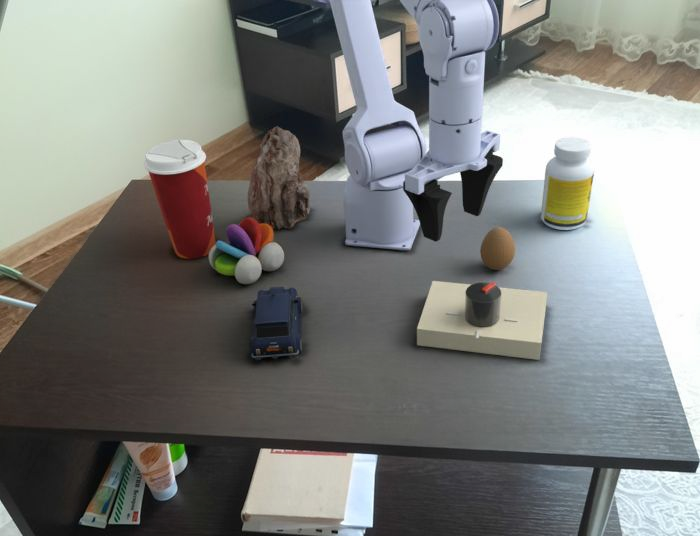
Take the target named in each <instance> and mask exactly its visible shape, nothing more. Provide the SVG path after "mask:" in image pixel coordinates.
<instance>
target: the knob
mask: <svg viewBox="0 0 700 536" xmlns="http://www.w3.org/2000/svg"><path fill="white" fill-rule="evenodd" d="M500 305H501V290H500V289H499V288H498V286H497V283H496V282H494V281H491V282H476V283H475V282H474V283H472V284H470V286H469V287H468V288H467V289H466V294H465V320H466V321H467V322H468V323H469V324H471V325H473V326H476V327H489V326H492V325H494V324H496V323H497V322H498V321H499V317H500Z"/></svg>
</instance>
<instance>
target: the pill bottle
mask: <svg viewBox="0 0 700 536" xmlns="http://www.w3.org/2000/svg"><path fill="white" fill-rule="evenodd" d="M591 150H592V144H591V142H590V141H588V140H587V139H584V138H581V137H576V136H574V137H573V136H567V137H563V138H560V139H557V141H556V142H555V144H554V150H553V154H554V157H552V158H551V159H549V160H548V162H547V163H546V165H545V171H544V182H543V191H542V200H541V209H540V219H541V222H543V224H544V225H546V226H547V227H549V228H551V229H555V230H559V231H560V230H561V231H570V230H571V231H572V230H576V229H579V228H581V227H582V226H584V225H585V223H586V222H587V220H588V215H589V207H590V201H591V194H592V188H593V181H594V176H595V165H594V163H593V162H592V161H591V159H590V158H589V157H590V154H591Z"/></svg>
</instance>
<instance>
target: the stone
mask: <svg viewBox="0 0 700 536" xmlns="http://www.w3.org/2000/svg"><path fill="white" fill-rule="evenodd" d="M259 148H260V155H259V156H258V157H257V159H256V160H255V161H254V163H253V165H252V168H251V173H250V177H249V185H248V188H247V207H248V211H249V212H248V217H250V218H254V219H255V220H256V221H257V222H258V223H259V224H262V223H264V224H268V225H270V226H271V227H272V229H273V230H275V229H277V230H281V229H293V227H294V226H295V224H296V223H297V222H300V221H304V220H306V218H307V217H309V214H310V211H311V206H310V195H311V193H310V189H309V187H308V184H306V183H305V182H304V180H303V179H302V177H301V174H300V170H299V168H300V157H301V145H300V143H299V139H298V138H297V137H296V135H295V134H294V133H291V131H290V130H287V129H283V128H281V127H279V126H278V125H277V126H274V128H271V129H269V130H268V131H267V133H265V135H264V137H263V138H262V141H261V143H260V145H259Z"/></svg>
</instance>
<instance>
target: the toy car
mask: <svg viewBox="0 0 700 536" xmlns="http://www.w3.org/2000/svg"><path fill="white" fill-rule="evenodd" d="M251 306H252V307H253V315H254V319H253V332H252V337H250V338H249V342H248V345H249V355H250V357H251V358H252V359H255V361H261V360H262V359H263V358H272V359H273V360H275V359H278V357H287V356H288V357H289V358H290V359H291V358H296V356H297V355H299V353H302V349H303V348H302V347H303V346H302V345H303V344H302V327H303V326H302V323H303V322H302V321H303V320H302V319H303V302H302V297H301V296H298V291H297V289H296V288H295V287H289V288H284V286H272V287H271V286H270V287H269V289H267V290H264V289H260V290H258V292H257V296H256V300H254V301H253V303H251Z"/></svg>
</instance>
